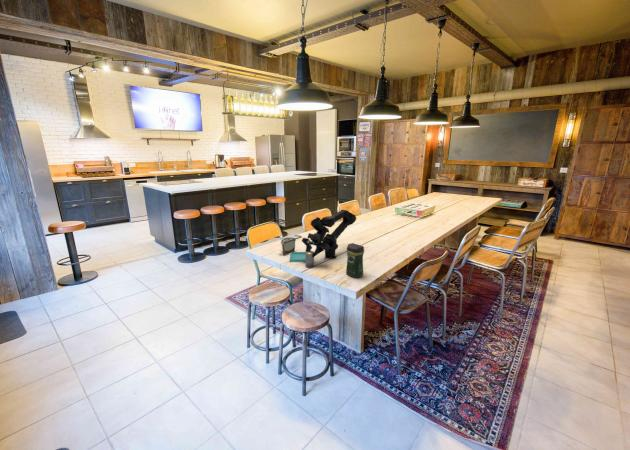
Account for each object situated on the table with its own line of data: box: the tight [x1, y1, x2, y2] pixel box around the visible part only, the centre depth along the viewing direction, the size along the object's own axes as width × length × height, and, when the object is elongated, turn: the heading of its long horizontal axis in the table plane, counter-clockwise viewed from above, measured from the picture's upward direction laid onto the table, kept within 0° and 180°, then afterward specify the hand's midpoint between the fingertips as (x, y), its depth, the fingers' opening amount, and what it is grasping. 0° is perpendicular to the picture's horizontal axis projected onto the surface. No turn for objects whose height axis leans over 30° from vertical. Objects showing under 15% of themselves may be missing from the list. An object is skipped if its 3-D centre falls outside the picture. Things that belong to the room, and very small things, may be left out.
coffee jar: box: [345, 242, 365, 278], centre depth 168 cm, size 10×8×19 cm
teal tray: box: [289, 251, 306, 263], centre depth 196 cm, size 14×14×2 cm
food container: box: [280, 236, 297, 256], centre depth 204 cm, size 12×6×10 cm, turn 141°
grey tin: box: [304, 250, 315, 268], centre depth 181 cm, size 5×5×9 cm
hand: (309, 256), depth 180 cm, fingers closed on grey tin, 5 cm apart
